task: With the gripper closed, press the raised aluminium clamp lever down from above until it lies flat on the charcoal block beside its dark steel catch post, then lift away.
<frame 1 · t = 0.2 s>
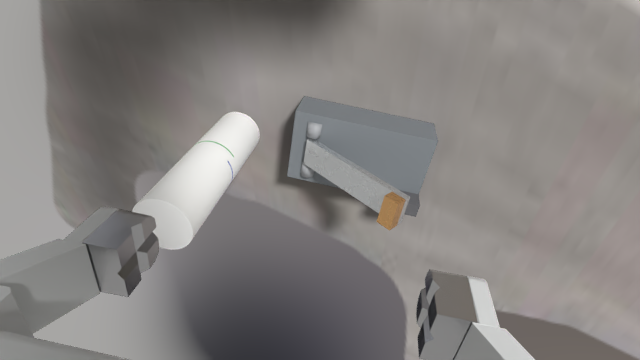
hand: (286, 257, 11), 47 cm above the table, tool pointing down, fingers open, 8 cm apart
clamp block: (360, 141, 61), on the table
clamp lever: (347, 180, 51), point 12 cm above the table, hinge at 35.0°
cylindrical container: (239, 131, 64), on the table
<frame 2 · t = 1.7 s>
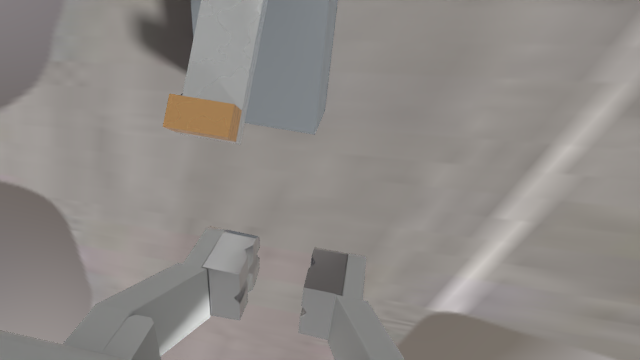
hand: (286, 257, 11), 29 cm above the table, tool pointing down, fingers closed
clamp lever: (229, 4, 24), point 12 cm above the table, hinge at 35.0°
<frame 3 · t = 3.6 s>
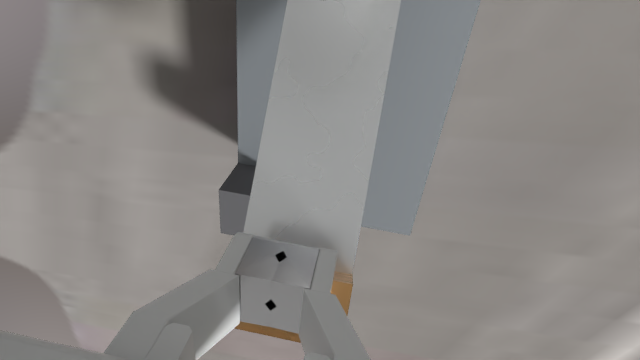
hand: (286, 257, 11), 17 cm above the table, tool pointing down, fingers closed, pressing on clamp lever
clamp block: (355, 35, 24), on the table
clamp lever: (328, 77, 13), point 12 cm above the table, hinge at 34.9°, touching gripper
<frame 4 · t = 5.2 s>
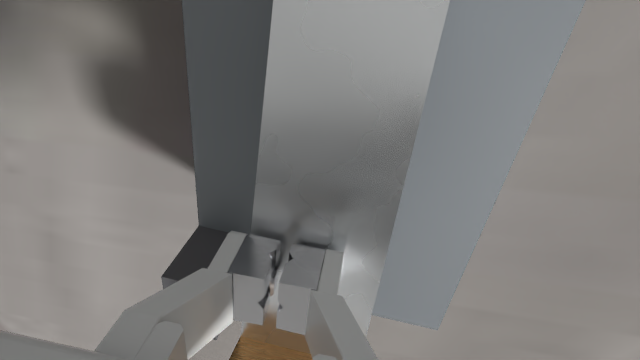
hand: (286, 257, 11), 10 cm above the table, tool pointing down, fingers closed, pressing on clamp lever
clamp block: (367, 48, 17), on the table
clamp lever: (328, 169, 10), point 9 cm above the table, hinge at 11.7°, touching gripper
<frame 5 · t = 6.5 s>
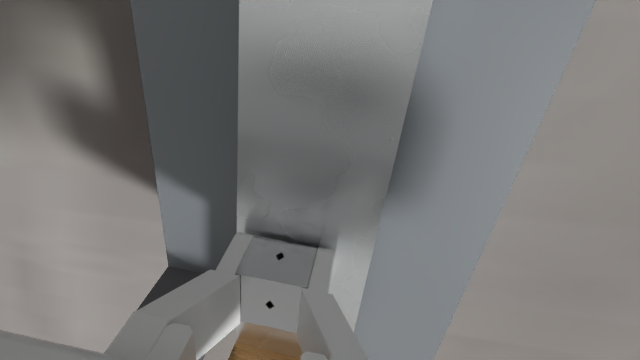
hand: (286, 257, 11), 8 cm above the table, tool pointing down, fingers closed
clamp block: (348, 72, 16), on the table
clamp lever: (305, 208, 10), point 8 cm above the table, hinge at 2.9°
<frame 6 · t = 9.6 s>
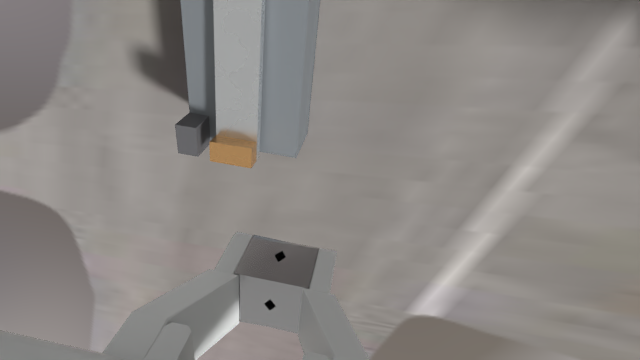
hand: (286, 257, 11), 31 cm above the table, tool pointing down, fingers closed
clamp block: (262, 35, 39), on the table
clamp lever: (235, 70, 33), point 8 cm above the table, hinge at 2.9°
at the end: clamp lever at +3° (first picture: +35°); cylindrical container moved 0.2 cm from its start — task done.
